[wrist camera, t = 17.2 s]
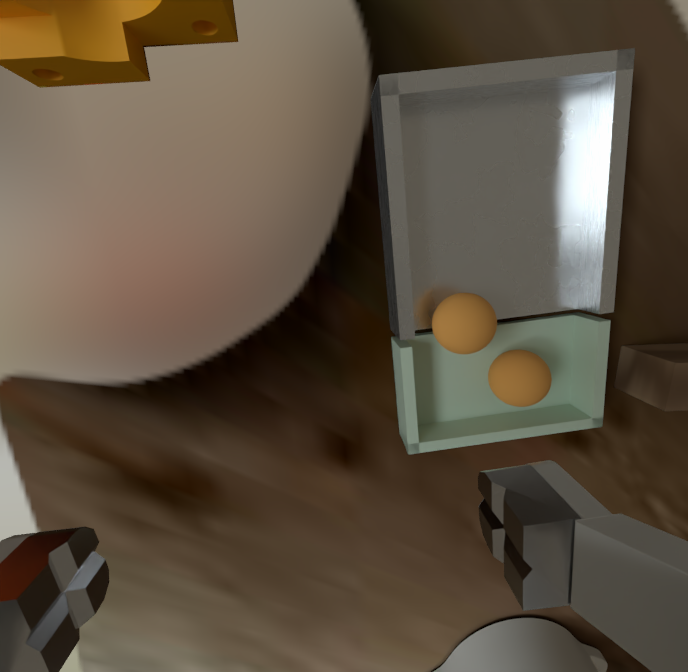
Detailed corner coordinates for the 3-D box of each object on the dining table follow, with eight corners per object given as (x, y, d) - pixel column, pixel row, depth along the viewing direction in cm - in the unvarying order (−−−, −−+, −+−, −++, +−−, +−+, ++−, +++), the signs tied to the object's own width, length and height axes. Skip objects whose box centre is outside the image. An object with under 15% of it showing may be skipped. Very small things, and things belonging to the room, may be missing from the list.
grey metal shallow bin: (579, 304, 26) (613, 312, 23) (390, 329, 26) (400, 340, 23) (591, 75, 23) (634, 48, 20) (370, 99, 22) (378, 75, 19)
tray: (573, 408, 29) (602, 426, 26) (399, 433, 28) (408, 454, 25) (578, 312, 27) (610, 320, 24) (391, 337, 26) (400, 348, 23)
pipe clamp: (40, 87, 21) (-79, 20, 15) (17, 0, 20) (-121, -113, 14) (242, 75, 22) (211, 5, 15) (231, -11, 20) (192, -124, 14)
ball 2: (469, 388, 25) (511, 357, 22) (483, 360, 28) (522, 329, 25) (514, 427, 24) (563, 400, 22) (524, 394, 27) (568, 367, 25)
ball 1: (481, 318, 26) (477, 369, 24) (427, 304, 25) (420, 354, 24) (510, 289, 22) (508, 347, 20) (448, 273, 22) (441, 330, 20)
